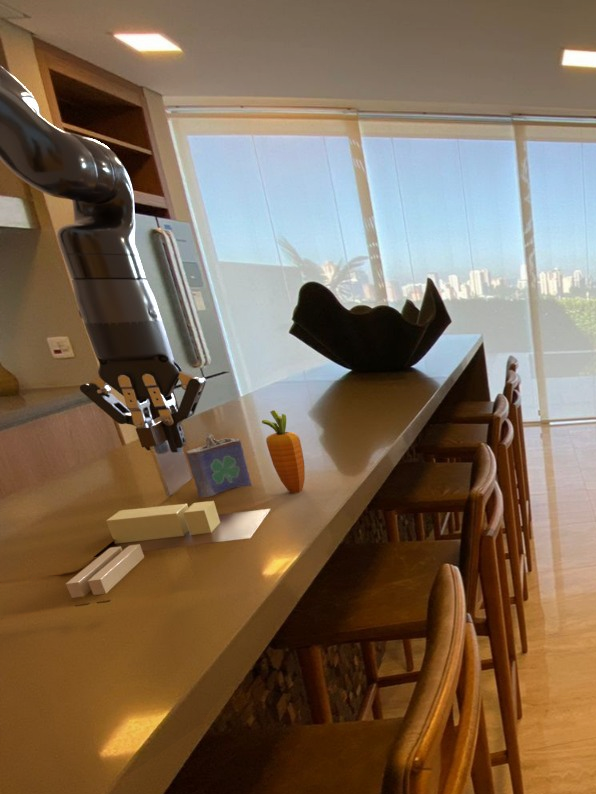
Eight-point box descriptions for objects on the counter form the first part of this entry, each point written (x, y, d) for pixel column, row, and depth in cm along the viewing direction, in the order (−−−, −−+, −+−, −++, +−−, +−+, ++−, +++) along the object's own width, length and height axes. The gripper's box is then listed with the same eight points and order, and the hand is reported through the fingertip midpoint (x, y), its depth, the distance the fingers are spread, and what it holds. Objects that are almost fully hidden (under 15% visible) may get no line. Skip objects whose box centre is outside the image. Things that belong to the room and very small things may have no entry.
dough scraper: (174, 497, 75) (150, 427, 72) (159, 498, 75) (135, 428, 71) (198, 476, 83) (177, 413, 80) (185, 478, 83) (164, 414, 79)
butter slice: (190, 535, 80) (183, 512, 78) (200, 524, 83) (193, 502, 82) (211, 532, 80) (204, 510, 79) (220, 522, 84) (213, 500, 83)
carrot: (309, 501, 96) (288, 413, 90) (276, 504, 94) (253, 415, 89) (316, 491, 100) (296, 407, 95) (285, 494, 99) (263, 409, 93)
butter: (114, 544, 77) (105, 520, 76) (128, 533, 81) (119, 510, 79) (184, 536, 80) (176, 513, 78) (194, 525, 83) (187, 503, 82)
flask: (208, 504, 94) (189, 442, 90) (195, 502, 95) (175, 440, 91) (256, 486, 103) (241, 429, 99) (244, 485, 103) (228, 428, 99)
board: (93, 565, 74) (90, 557, 73) (135, 530, 84) (132, 523, 84) (251, 546, 79) (249, 538, 79) (272, 515, 90) (270, 508, 89)
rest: (109, 602, 65) (100, 579, 64) (75, 606, 64) (65, 583, 63) (147, 564, 74) (140, 544, 73) (117, 568, 73) (109, 547, 72)
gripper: (198, 315, 76) (234, 440, 82) (71, 318, 72) (120, 450, 78) (176, 318, 69) (217, 454, 76) (35, 321, 65) (91, 465, 72)
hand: (167, 451), depth 77 cm, fingers closed on dough scraper, 1 cm apart
